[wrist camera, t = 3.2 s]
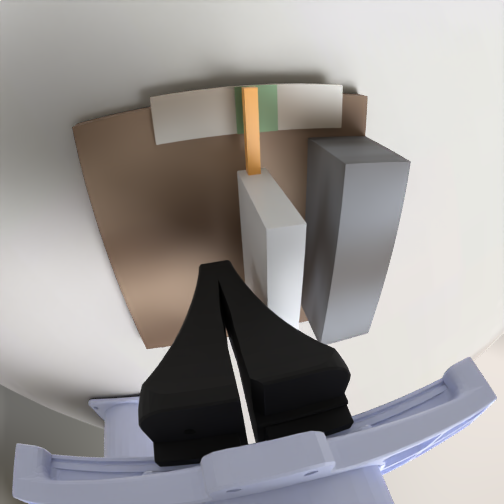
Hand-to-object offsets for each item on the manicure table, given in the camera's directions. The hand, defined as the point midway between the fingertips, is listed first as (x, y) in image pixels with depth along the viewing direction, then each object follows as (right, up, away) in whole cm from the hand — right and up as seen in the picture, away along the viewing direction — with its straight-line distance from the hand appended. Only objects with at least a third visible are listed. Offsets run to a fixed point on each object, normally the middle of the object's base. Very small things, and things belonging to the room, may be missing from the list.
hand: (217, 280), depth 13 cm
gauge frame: (0, +2, +3) cm, 3 cm away
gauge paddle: (+2, +3, +1) cm, 3 cm away
